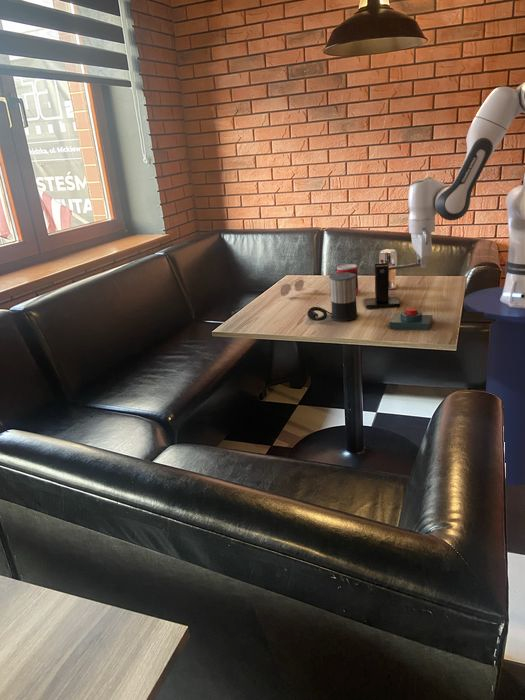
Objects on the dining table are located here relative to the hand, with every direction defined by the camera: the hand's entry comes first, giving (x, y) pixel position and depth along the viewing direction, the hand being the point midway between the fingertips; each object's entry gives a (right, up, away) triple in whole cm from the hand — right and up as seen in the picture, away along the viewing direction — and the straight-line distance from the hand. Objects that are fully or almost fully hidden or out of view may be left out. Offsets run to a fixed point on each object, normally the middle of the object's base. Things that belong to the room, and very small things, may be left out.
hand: (421, 265), depth 191 cm
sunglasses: (-42, -8, +29) cm, 52 cm away
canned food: (-22, -7, +25) cm, 34 cm away
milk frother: (-32, -19, -4) cm, 38 cm away
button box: (-9, -22, -18) cm, 30 cm away
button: (-9, -19, -19) cm, 28 cm away
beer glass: (-5, -5, +27) cm, 28 cm away
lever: (-7, -1, +1) cm, 8 cm away
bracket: (-13, -13, +7) cm, 19 cm away
